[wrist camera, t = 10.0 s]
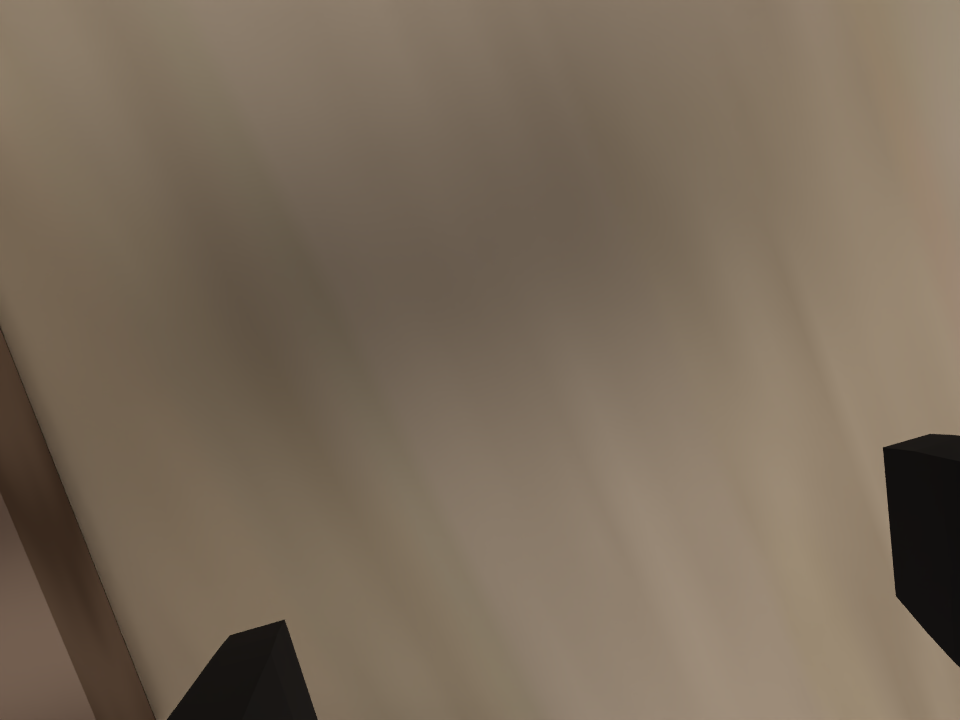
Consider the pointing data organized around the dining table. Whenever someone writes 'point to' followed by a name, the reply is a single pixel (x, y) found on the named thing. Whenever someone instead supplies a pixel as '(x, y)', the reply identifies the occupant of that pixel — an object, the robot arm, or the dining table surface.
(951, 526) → the robot arm
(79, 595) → the walnut base
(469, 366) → the dining table surface
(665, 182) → the dining table surface
